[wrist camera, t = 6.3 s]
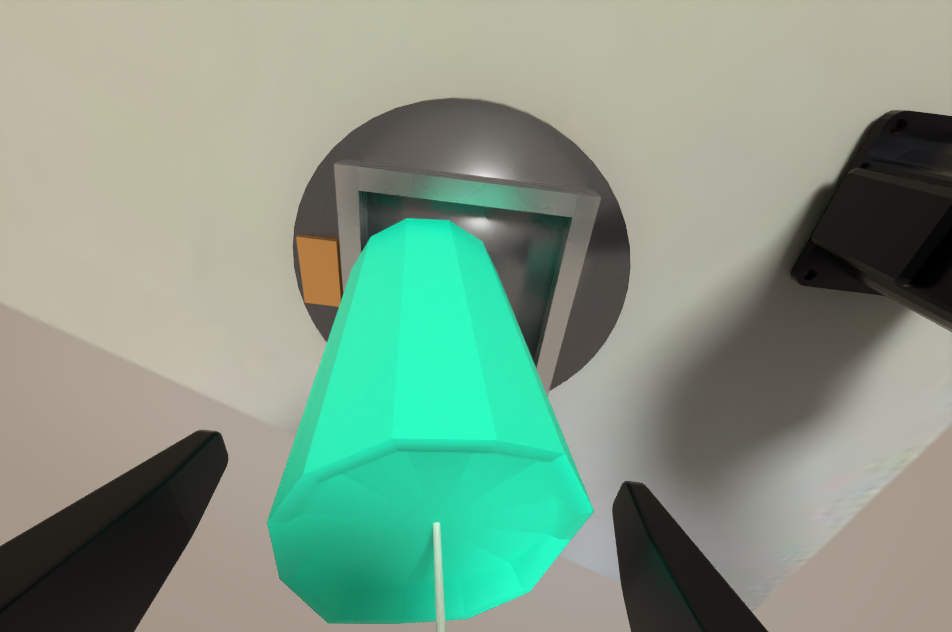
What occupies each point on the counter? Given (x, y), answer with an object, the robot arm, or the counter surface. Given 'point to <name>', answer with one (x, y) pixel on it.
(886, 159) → the robot arm
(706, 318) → the counter surface
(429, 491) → the candle
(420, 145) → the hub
